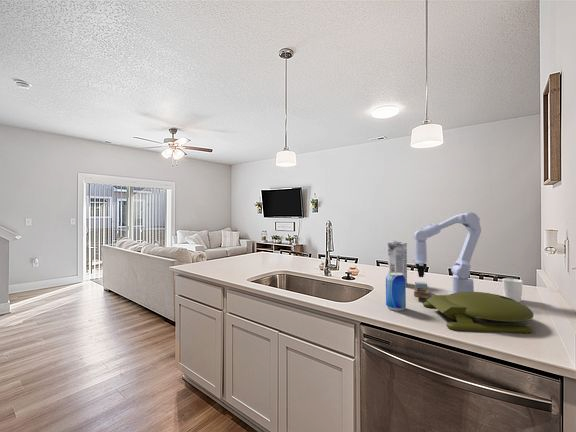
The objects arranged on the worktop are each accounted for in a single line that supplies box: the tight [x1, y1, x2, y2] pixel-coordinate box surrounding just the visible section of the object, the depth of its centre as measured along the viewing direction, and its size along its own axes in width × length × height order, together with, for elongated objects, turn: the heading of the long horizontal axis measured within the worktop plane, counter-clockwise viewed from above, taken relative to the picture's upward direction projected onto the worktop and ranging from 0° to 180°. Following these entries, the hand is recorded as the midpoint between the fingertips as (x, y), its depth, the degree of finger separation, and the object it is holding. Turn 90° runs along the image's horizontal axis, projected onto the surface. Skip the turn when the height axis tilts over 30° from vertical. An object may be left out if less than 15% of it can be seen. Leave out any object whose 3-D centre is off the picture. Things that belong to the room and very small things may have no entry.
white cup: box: [501, 277, 524, 303], centre depth 139 cm, size 8×8×10 cm
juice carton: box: [387, 240, 408, 284], centre depth 174 cm, size 9×10×27 cm
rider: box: [415, 281, 428, 291], centre depth 146 cm, size 5×4×4 cm
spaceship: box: [422, 291, 535, 334], centre depth 115 cm, size 35×31×10 cm
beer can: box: [385, 272, 407, 312], centre depth 128 cm, size 8×8×16 cm
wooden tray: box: [413, 281, 430, 299], centre depth 147 cm, size 7×21×5 cm, turn 155°
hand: (421, 276), depth 153 cm, fingers closed
